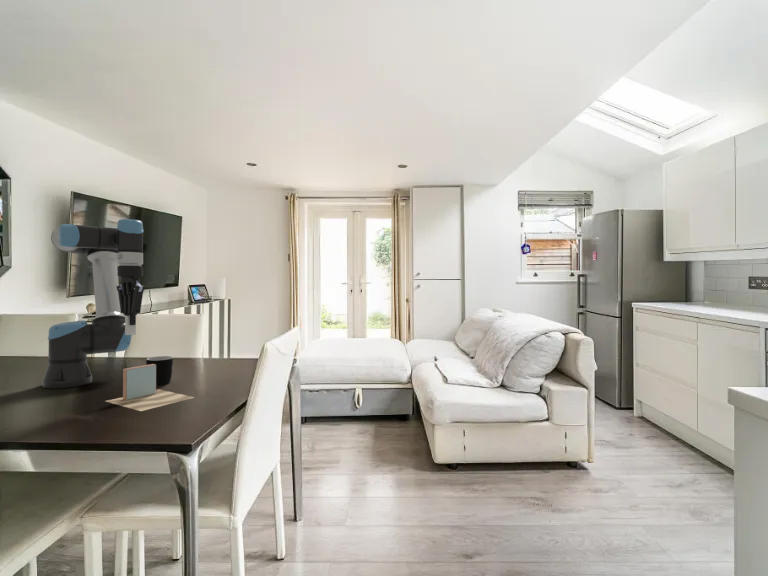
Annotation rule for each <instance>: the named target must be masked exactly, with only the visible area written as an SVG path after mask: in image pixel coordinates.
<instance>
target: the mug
mask: <svg viewBox="0 0 768 576" xmlns="http://www.w3.org/2000/svg"><path fill="white" fill-rule="evenodd" d="M145 362H146V363H145V365H150V364H156V386H164V385H168V384H170V383H171V379H172V376H173V375H172V374H173V368H174V357H173V356H169V355H162V356H160V355H159V356H151V357H147V358H146V359H145Z"/></svg>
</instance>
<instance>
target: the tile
mask: <svg viewBox="0 0 768 576" xmlns="http://www.w3.org/2000/svg"><path fill="white" fill-rule="evenodd" d="M156 390H157V385H156V364H150V365H146V364H145V365H139V366H132V367H127V368H122V397H123V400H130V399H135V398H139V397H144V396H148V395H152V394H156Z"/></svg>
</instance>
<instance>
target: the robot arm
mask: <svg viewBox="0 0 768 576" xmlns="http://www.w3.org/2000/svg"><path fill="white" fill-rule="evenodd" d="M116 225H117V226H116V227H107V226H106V227H105V226H92V225H82V224H74V223H62V224H60V225H59V227H57V228H55V229H54V230H53V231H52V233H51V235H50V240H51V243H52V244H53V246H54V247H56V248H57V249H58V250H60V251H64V252H66V253H69V254H77V255H87V256H86V257H87V260H88V261H89V262H91V264H92V276H93V289H94V291H93V292H94V303H95V304H94V305H95V317H94V318H92V320H91V323H88V322H87V321H86V320H73V321H66V322H62V323H61V322H60V323H56V324H54V325H52V326H50V327H49V328H48V337H47V340H48V356H47V357H48V358H47V359H48V362H47V363H48V364H47V368H46V370H45V373H44V375H43V378H42V381H41V382H42V383H41V384H42V385H41V386H42V388H43V389H65V388H66V389H67V388H75V387H76V388H77V387H79V386H85V385H88V384H91V383H92V382H93V375H92V374H93V373H92V372H91V370H90V367H89V365H88V362H87V361H88V357H87V356H88V355H93V354H94V355H96V354H108V353H118V352H125V351H126V350H128V348H129V347H130V345H131V342H132V338H133V337H132V336H133V335H134V336H135V335H136V333H137V332H136V330H137V329H136V323H137V322H136V321H137V320H136V319H137V316H138V314H141V310H142V303H143V295H144V291H145V289H146V287H145V285H141V280H140V278H142V277H143V276H144V267H143V266H142V265H144V232H145V231H144V225H143V222H142V221H141V220H138V219H133V218H132V219H131V218H129V219H128V218H122V219H121V218H120V219H118V220H117V224H116ZM119 277H120V278H121V280H120V285H119Z"/></svg>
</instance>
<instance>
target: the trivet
mask: <svg viewBox="0 0 768 576" xmlns="http://www.w3.org/2000/svg"><path fill="white" fill-rule="evenodd" d="M194 398H196V397H194V396H191V395H186V394H182V393H176V392H173V391H168V390H164V389H156V394H152V395H148V396H144V397H139V398H135V399H130V400H123V396H122V397H118V398H114V399H108V400H105V401H104V402H106V403H110V404H112V405H116V406H120V407H123V408H128V409H132V410H135V411H139V412H144V411H147V410H151V409H155V408H160V407H163V406H166V405H167V406H168V405H170V404H171V405H172V404H175V403H179V402H183V401H187V400H191V399H194Z"/></svg>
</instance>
